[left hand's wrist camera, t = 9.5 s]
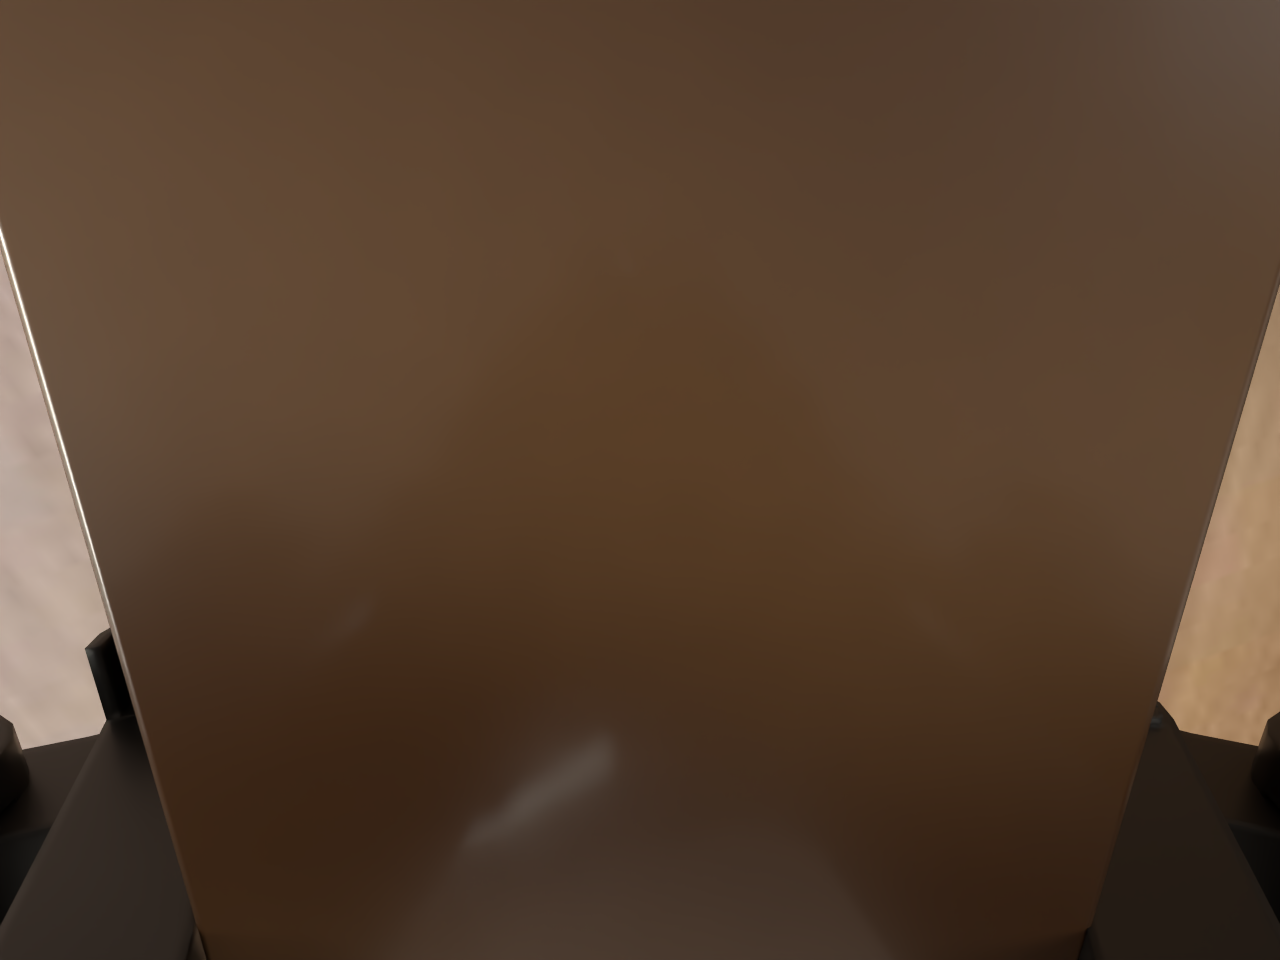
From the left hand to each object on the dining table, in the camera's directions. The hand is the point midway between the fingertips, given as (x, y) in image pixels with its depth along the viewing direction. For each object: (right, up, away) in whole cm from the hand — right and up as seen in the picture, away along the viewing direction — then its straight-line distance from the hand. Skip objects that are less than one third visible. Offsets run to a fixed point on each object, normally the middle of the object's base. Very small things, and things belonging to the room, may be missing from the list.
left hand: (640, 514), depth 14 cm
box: (0, +8, -1) cm, 8 cm away
